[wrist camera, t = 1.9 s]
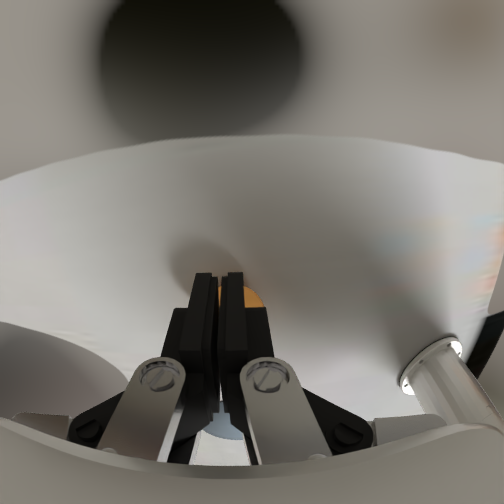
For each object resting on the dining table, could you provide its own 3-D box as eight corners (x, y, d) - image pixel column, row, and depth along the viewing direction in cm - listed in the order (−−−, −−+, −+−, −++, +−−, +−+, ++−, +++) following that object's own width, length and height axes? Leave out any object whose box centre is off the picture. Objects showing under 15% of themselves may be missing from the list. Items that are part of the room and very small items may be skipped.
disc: (297, 413, 37) (297, 414, 37) (248, 444, 41) (248, 445, 41) (226, 389, 34) (226, 390, 34) (183, 424, 38) (183, 425, 37)
